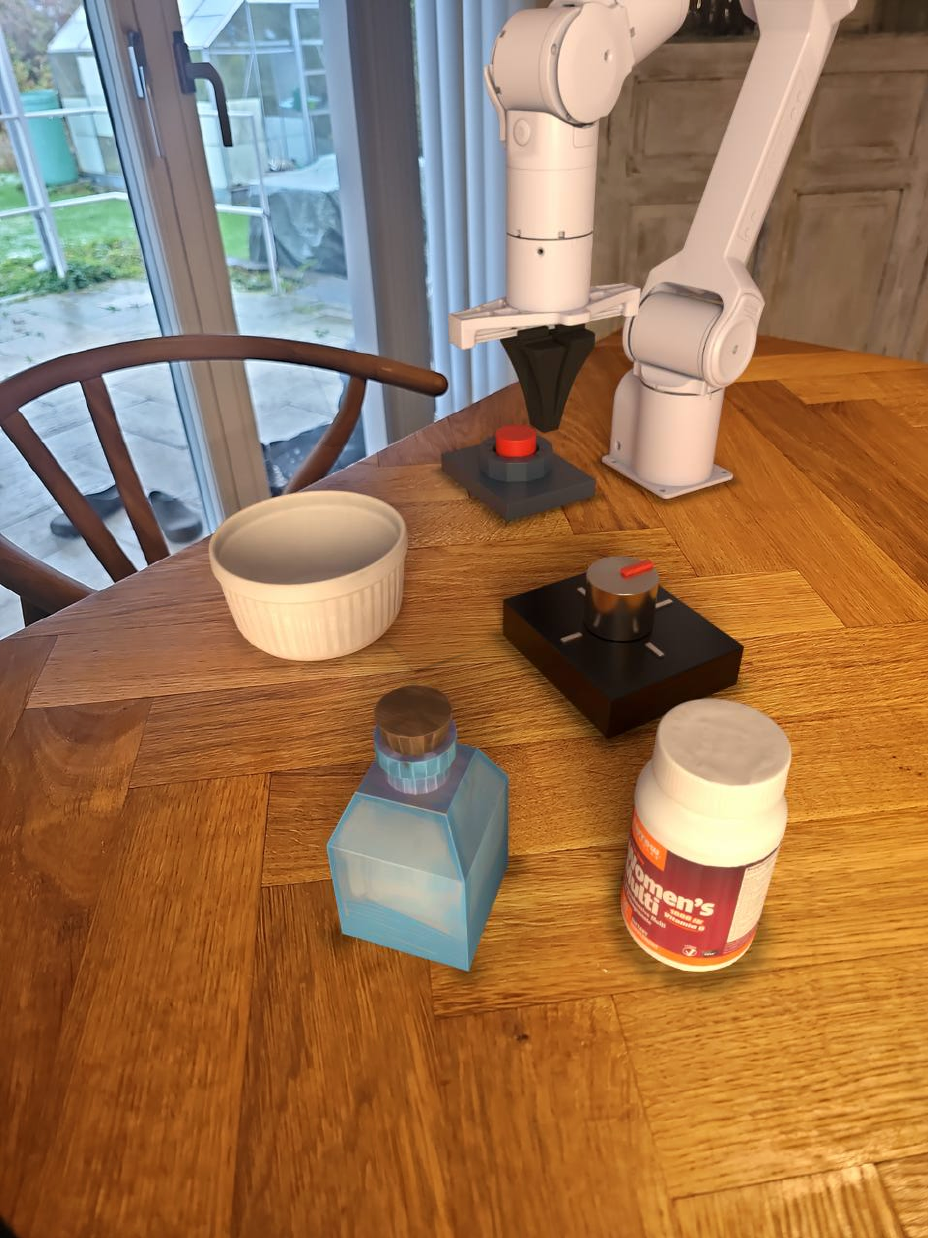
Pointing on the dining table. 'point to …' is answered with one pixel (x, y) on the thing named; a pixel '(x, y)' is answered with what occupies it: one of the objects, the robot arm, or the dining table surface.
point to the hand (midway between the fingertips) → (544, 426)
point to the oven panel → (620, 656)
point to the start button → (515, 441)
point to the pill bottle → (705, 833)
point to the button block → (518, 478)
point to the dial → (620, 598)
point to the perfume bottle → (422, 835)
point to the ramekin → (312, 572)
